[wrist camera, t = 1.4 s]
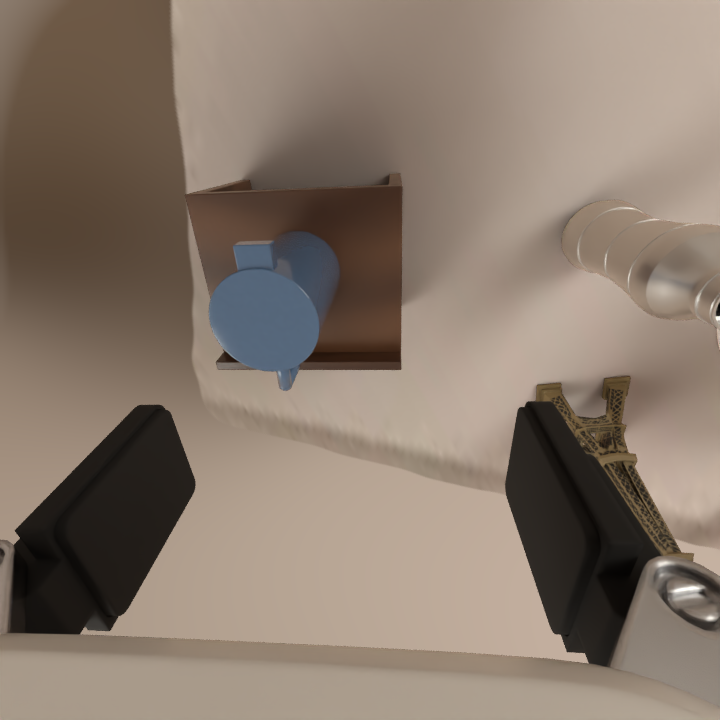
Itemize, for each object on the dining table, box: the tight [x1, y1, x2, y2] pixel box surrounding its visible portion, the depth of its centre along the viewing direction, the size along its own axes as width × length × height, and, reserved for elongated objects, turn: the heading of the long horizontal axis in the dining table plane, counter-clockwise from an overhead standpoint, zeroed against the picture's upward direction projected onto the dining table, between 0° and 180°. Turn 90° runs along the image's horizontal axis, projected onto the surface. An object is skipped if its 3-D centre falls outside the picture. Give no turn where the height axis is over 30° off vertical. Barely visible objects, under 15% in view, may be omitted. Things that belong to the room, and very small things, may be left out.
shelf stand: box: [185, 173, 402, 370], centre depth 36 cm, size 14×16×14 cm
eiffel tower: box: [536, 376, 694, 562], centre depth 39 cm, size 11×11×25 cm
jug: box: [209, 231, 340, 391], centre depth 27 cm, size 10×6×10 cm, turn 2°
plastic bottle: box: [561, 200, 720, 330], centre depth 30 cm, size 6×7×20 cm
